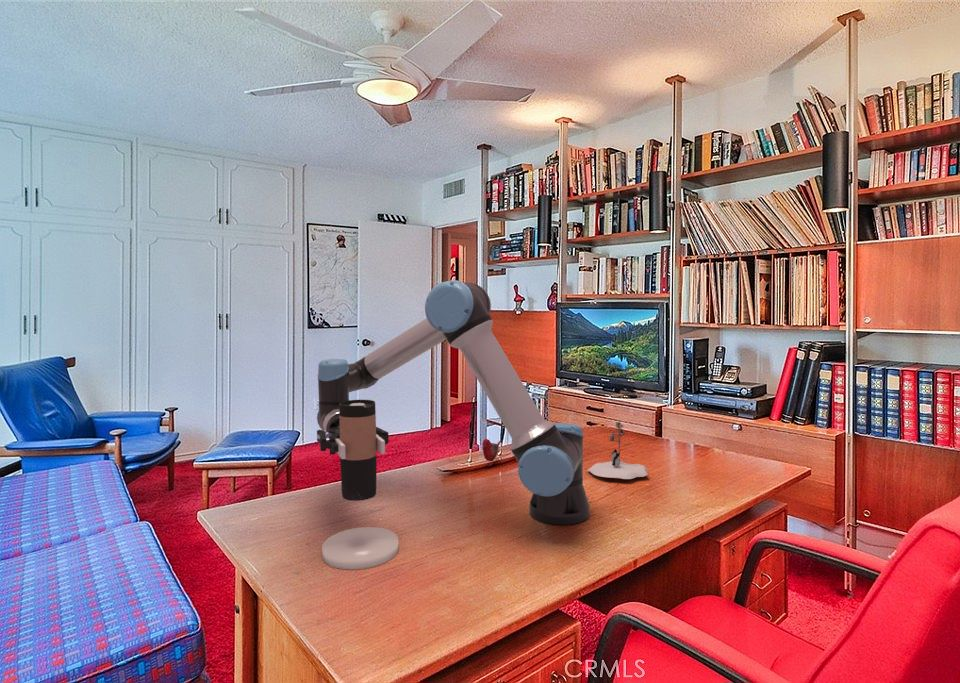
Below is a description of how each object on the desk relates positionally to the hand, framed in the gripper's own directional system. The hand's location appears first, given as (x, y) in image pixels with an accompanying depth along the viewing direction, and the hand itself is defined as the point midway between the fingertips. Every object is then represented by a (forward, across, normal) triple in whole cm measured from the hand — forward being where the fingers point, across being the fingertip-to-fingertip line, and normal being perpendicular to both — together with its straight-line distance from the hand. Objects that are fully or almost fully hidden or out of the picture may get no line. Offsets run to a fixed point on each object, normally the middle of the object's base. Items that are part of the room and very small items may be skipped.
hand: (363, 449), depth 108 cm
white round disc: (-5, 0, -23) cm, 24 cm away
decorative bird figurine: (-49, -55, -24) cm, 77 cm away
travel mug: (-5, 0, -11) cm, 12 cm away
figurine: (-21, -85, -24) cm, 91 cm away
